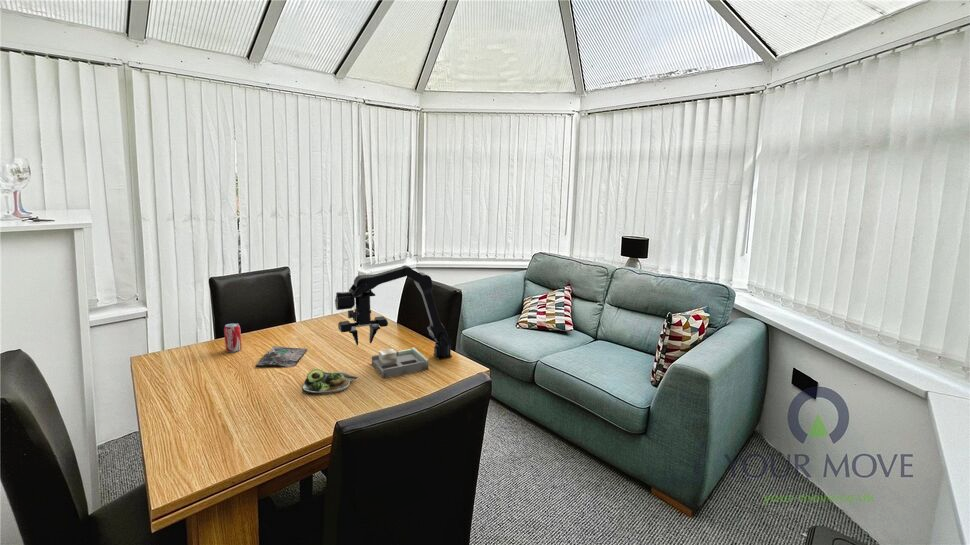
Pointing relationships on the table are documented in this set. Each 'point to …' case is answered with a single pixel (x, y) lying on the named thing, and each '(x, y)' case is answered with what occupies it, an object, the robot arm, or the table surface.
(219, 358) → the table surface
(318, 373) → the salad plate
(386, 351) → the cream block
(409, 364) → the box
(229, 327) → the soda can
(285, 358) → the terrain model
